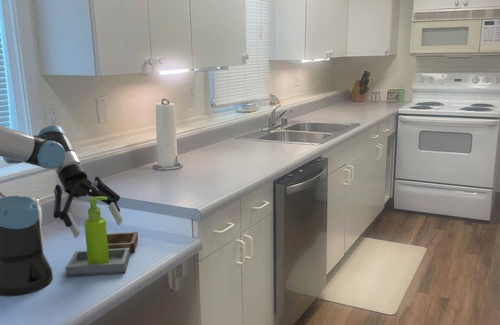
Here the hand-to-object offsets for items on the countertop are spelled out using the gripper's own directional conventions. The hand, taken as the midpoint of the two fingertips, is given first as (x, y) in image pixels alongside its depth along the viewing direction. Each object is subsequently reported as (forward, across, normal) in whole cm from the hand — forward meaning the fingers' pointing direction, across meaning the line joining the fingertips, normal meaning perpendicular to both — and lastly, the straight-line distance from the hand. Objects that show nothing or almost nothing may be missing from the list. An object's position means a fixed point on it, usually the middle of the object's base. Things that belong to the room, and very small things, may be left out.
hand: (99, 228), depth 141 cm
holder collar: (+1, -12, -17) cm, 20 cm away
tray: (+7, 0, -10) cm, 12 cm away
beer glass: (-18, +4, -35) cm, 40 cm away
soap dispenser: (+7, 0, -9) cm, 11 cm away
